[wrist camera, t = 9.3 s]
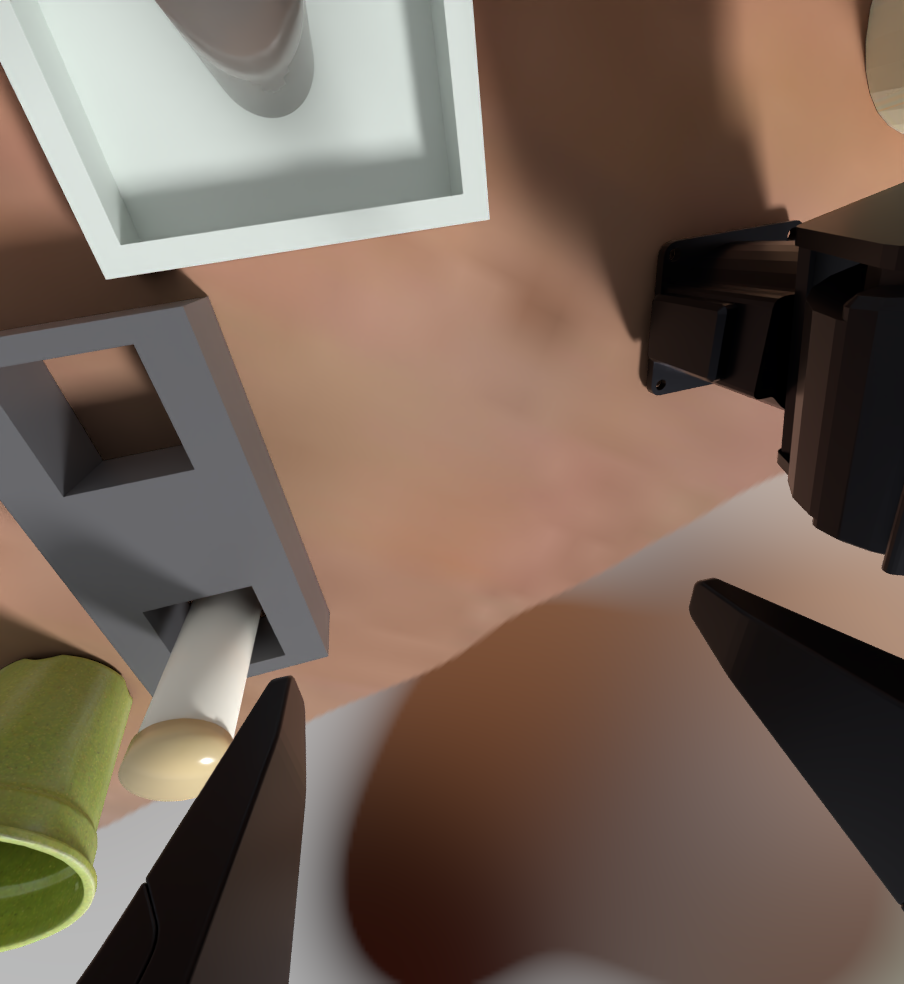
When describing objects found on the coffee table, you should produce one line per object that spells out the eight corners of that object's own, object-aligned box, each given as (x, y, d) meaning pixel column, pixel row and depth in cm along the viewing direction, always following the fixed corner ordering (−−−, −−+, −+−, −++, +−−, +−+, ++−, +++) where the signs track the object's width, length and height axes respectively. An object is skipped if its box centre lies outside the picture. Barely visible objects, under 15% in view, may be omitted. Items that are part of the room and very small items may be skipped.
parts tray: (429, -223, 12) (447, -318, 10) (471, 222, 17) (489, 219, 15) (-80, -205, 10) (-180, -311, 8) (136, 275, 15) (106, 279, 13)
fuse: (254, 557, 22) (205, 730, 14) (276, 604, 23) (243, 783, 16) (185, 573, 21) (97, 760, 14) (213, 620, 23) (148, 811, 15)
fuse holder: (208, 296, 16) (183, 306, 13) (329, 612, 24) (328, 656, 22) (-35, 336, 15) (-112, 355, 13) (176, 651, 23) (156, 701, 21)
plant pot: (110, 767, 26) (19, 972, 19) (-91, 717, 22) (-314, 961, 14) (204, 673, 24) (145, 860, 17) (6, 596, 20) (-194, 806, 12)
